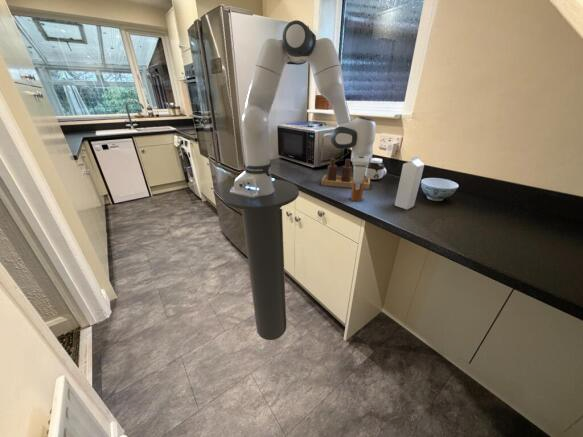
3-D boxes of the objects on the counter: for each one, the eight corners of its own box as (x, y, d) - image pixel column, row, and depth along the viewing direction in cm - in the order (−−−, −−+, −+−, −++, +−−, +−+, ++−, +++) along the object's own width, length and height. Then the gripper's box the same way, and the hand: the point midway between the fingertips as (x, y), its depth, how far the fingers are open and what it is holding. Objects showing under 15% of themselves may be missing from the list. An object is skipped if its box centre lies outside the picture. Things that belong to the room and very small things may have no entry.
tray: (321, 185, 130) (321, 180, 129) (324, 179, 139) (324, 174, 137) (369, 189, 123) (369, 184, 122) (369, 182, 132) (370, 178, 131)
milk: (394, 205, 105) (404, 156, 94) (401, 202, 108) (411, 153, 98) (407, 209, 100) (419, 158, 90) (414, 206, 104) (426, 156, 93)
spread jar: (364, 180, 136) (366, 160, 131) (365, 174, 146) (367, 156, 140) (385, 182, 133) (389, 161, 127) (385, 176, 142) (388, 157, 137)
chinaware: (415, 191, 119) (419, 176, 116) (448, 194, 115) (453, 179, 112) (420, 202, 107) (424, 186, 103) (457, 206, 103) (463, 189, 99)
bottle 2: (340, 183, 129) (342, 160, 123) (341, 180, 133) (343, 158, 127) (349, 184, 128) (352, 160, 122) (350, 181, 132) (353, 158, 126)
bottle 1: (326, 182, 131) (327, 159, 125) (327, 179, 135) (329, 157, 129) (335, 183, 130) (337, 160, 124) (336, 180, 134) (338, 157, 128)
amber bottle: (350, 200, 110) (353, 174, 104) (351, 196, 114) (354, 171, 108) (361, 201, 109) (365, 174, 103) (361, 197, 113) (365, 171, 107)
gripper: (355, 151, 112) (352, 179, 118) (352, 162, 94) (349, 193, 101) (369, 152, 110) (365, 180, 116) (368, 163, 93) (364, 195, 99)
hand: (357, 186), depth 108 cm, fingers closed on amber bottle, 5 cm apart
